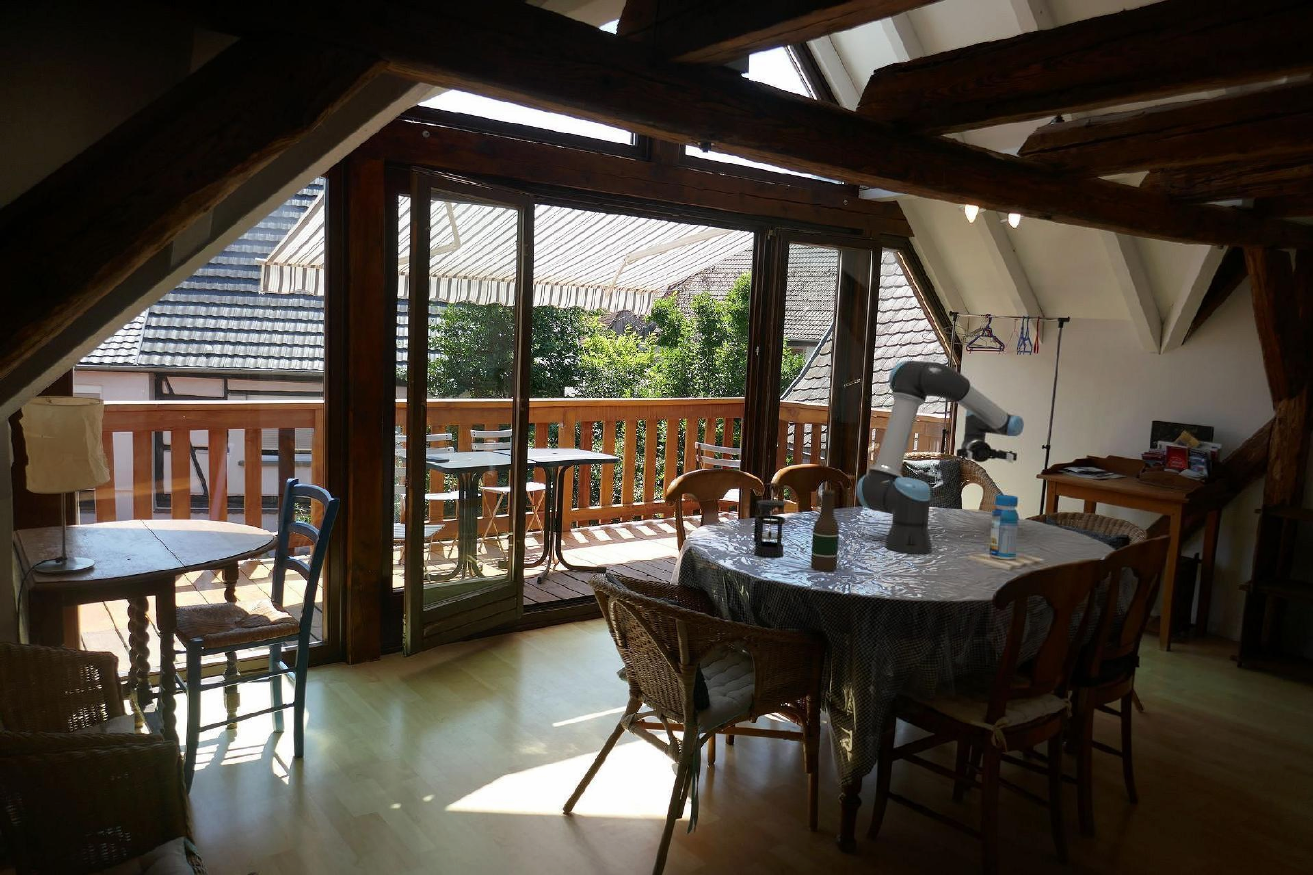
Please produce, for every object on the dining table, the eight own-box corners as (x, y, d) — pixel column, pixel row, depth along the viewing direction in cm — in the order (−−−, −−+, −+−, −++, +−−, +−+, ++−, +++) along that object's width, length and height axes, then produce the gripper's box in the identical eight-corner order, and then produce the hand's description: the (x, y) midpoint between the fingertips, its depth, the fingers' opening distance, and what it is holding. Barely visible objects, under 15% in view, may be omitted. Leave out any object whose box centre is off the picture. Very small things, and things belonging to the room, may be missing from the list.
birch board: (1009, 569, 297) (1009, 566, 297) (967, 559, 309) (967, 556, 309) (1043, 562, 309) (1044, 559, 309) (1002, 553, 321) (1002, 550, 321)
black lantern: (791, 556, 302) (795, 484, 300) (769, 559, 297) (773, 486, 294) (765, 549, 312) (769, 479, 309) (744, 552, 306) (748, 481, 304)
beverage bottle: (1009, 561, 303) (1014, 498, 302) (984, 556, 309) (988, 495, 307) (1020, 558, 309) (1025, 496, 308) (994, 553, 315) (999, 493, 314)
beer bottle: (805, 568, 288) (810, 489, 286) (820, 564, 294) (825, 487, 291) (826, 573, 283) (831, 493, 280) (841, 569, 288) (846, 491, 286)
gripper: (1013, 463, 346) (1028, 470, 325) (942, 458, 349) (952, 465, 328) (1015, 442, 345) (1030, 449, 324) (944, 438, 348) (954, 444, 327)
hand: (991, 457), depth 326 cm, fingers open, 13 cm apart
